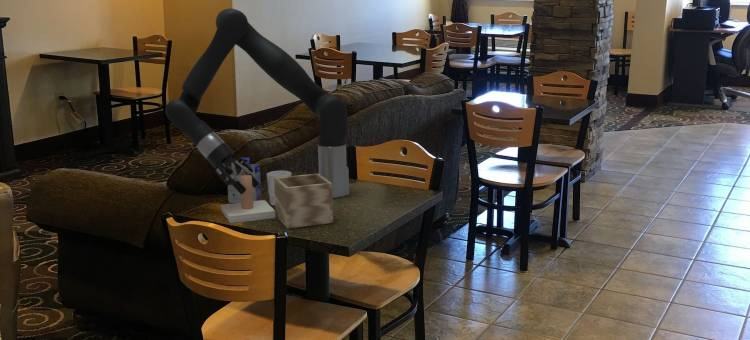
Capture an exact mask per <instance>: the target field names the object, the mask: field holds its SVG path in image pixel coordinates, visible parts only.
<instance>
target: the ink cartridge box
mask: <svg viewBox="0 0 750 340" xmlns="http://www.w3.org/2000/svg"><path fill="white" fill-rule="evenodd" d="M239 158H242V159H243V160H244V161H245V160H246V161H245V162H246V163H247V164H248V165H249V166H250V167H251V168H252V169H253V170H254V171H253V172H252V175H253V176H254V178H255V179H256V180H257V181H258V182H259V185H258V186H257V187H255V188H254V187H253V186H252V192H253V201H260V200H263V199H262V198H263V197H262V184H261V183H262V182H261V178H262V177H261V165H260V163H258V164H256V163H255V164H253V163H250V157H244V156H243V157H241V156H240V157H239ZM246 169H247V170H249V169H248V168H247V167H246ZM244 174H245V173H244ZM245 175H246V174H245ZM236 177H237V180H238V181H239V182H240V177H239V176H236ZM226 180H227V179H226ZM227 181H228V180H227ZM227 197H228V198H227V199H228V204H233V203H241V194H240V193H239V192H238V191H237V189H236V188H235V187H234V186H231V185H229V186H227Z"/></svg>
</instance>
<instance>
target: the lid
mask: <svg viewBox="0 0 750 340" xmlns="http://www.w3.org/2000/svg"><path fill="white" fill-rule="evenodd" d="M240 183H241V184H242V185H243V186H244V187H245V188H246V191H245V192H244V193H243V194H241V203H226V204H220V210H221V209H222V211H223V212H224V214H225V215H226V216H227V218H228V219H229V220H236V219H244V218H252V217H261V216H269V215H276V209H274V208H273V207H272V205H271V204H270V203H268V202H267V200H266V199H262V200H260V201H253V192H252V176H251V175H242V176H240Z"/></svg>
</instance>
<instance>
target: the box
mask: <svg viewBox="0 0 750 340" xmlns="http://www.w3.org/2000/svg"><path fill="white" fill-rule="evenodd" d="M274 188H275V209H274V210H275V215H276V219H278V221H280V222H281V223H282V224H283V225H284V226H285V227H286V228H287V229H293V228H301V227H308V226H311V227H312V226H317V225H326V224H334V201H333V199H334V198H333V195H332V183H331V182H329V181H328V180H327V179H325V178H324V177H323V176H321V175H320V174H319V173H311V174H302V175H293V176H292V175H291V176H289V177H279V178H274Z"/></svg>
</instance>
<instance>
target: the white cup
mask: <svg viewBox="0 0 750 340" xmlns="http://www.w3.org/2000/svg"><path fill="white" fill-rule="evenodd" d="M289 176H292V172H291V171H289V170H274V171H270V172H269V171H268V172H267V173H266V179H267V190H268V197H269V205H270V206H273V207H274V206H275V188H274V178H279V177H289Z"/></svg>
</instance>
